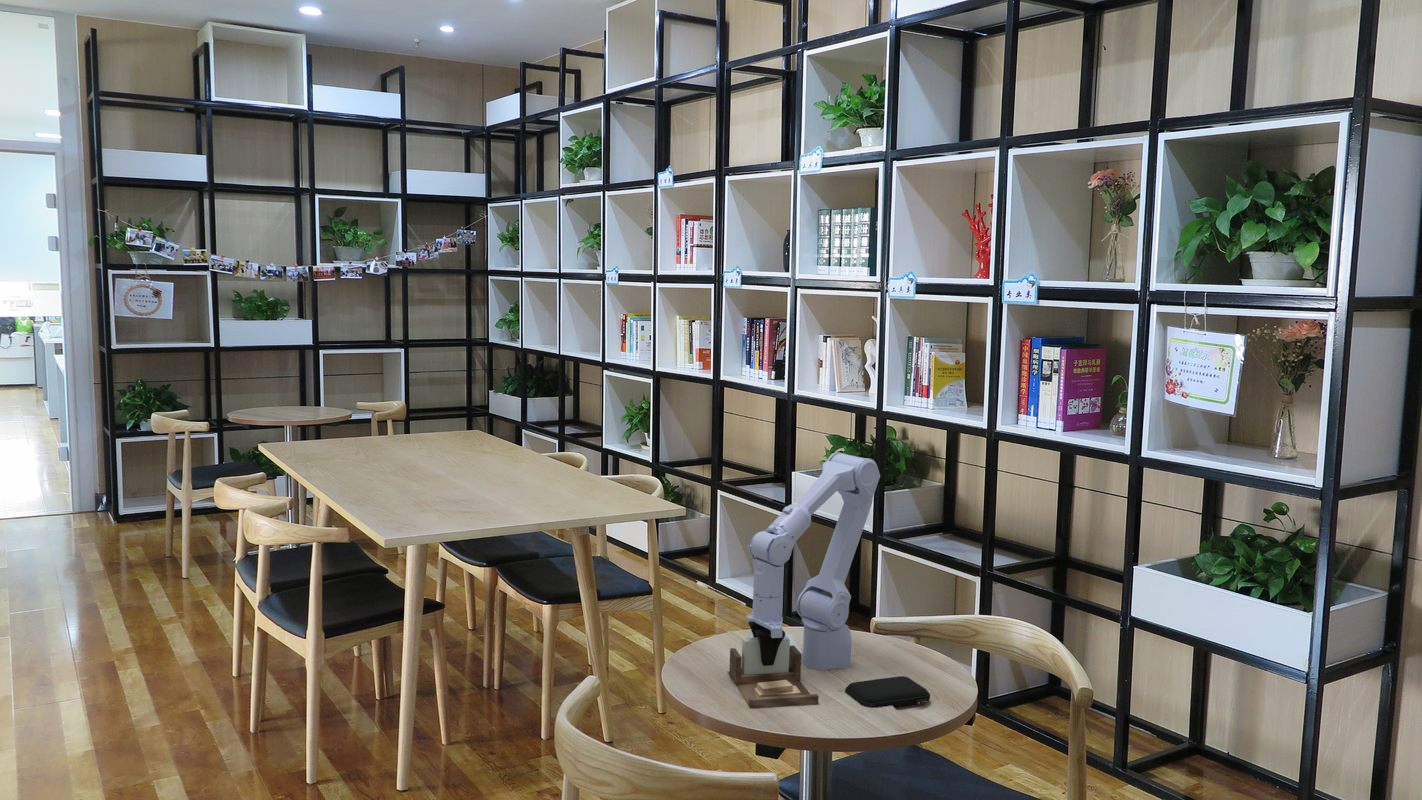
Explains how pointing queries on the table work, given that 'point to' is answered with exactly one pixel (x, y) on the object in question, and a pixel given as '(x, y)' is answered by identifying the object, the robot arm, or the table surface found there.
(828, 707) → the table surface
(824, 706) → the table surface
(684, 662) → the table surface
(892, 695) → the carrying case or bag
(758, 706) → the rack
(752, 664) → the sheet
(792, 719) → the table surface
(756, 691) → the offcut stack
